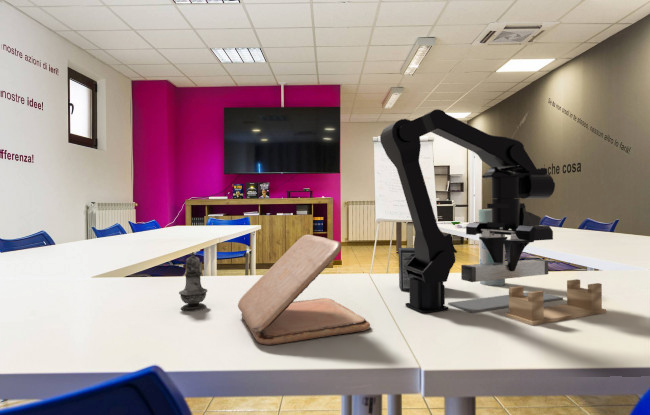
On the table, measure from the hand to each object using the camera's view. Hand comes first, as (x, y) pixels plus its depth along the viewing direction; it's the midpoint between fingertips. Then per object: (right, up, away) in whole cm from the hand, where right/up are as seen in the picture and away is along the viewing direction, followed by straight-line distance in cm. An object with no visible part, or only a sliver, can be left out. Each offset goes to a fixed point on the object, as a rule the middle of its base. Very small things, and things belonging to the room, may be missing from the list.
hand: (505, 269), depth 85 cm
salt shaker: (-68, -8, -1) cm, 69 cm away
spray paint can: (+5, -7, +19) cm, 21 cm away
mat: (0, -7, 0) cm, 7 cm away
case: (-44, -8, -12) cm, 47 cm away
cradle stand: (+5, -7, -10) cm, 13 cm away
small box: (-15, -7, +14) cm, 22 cm away
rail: (0, -2, 0) cm, 2 cm away
